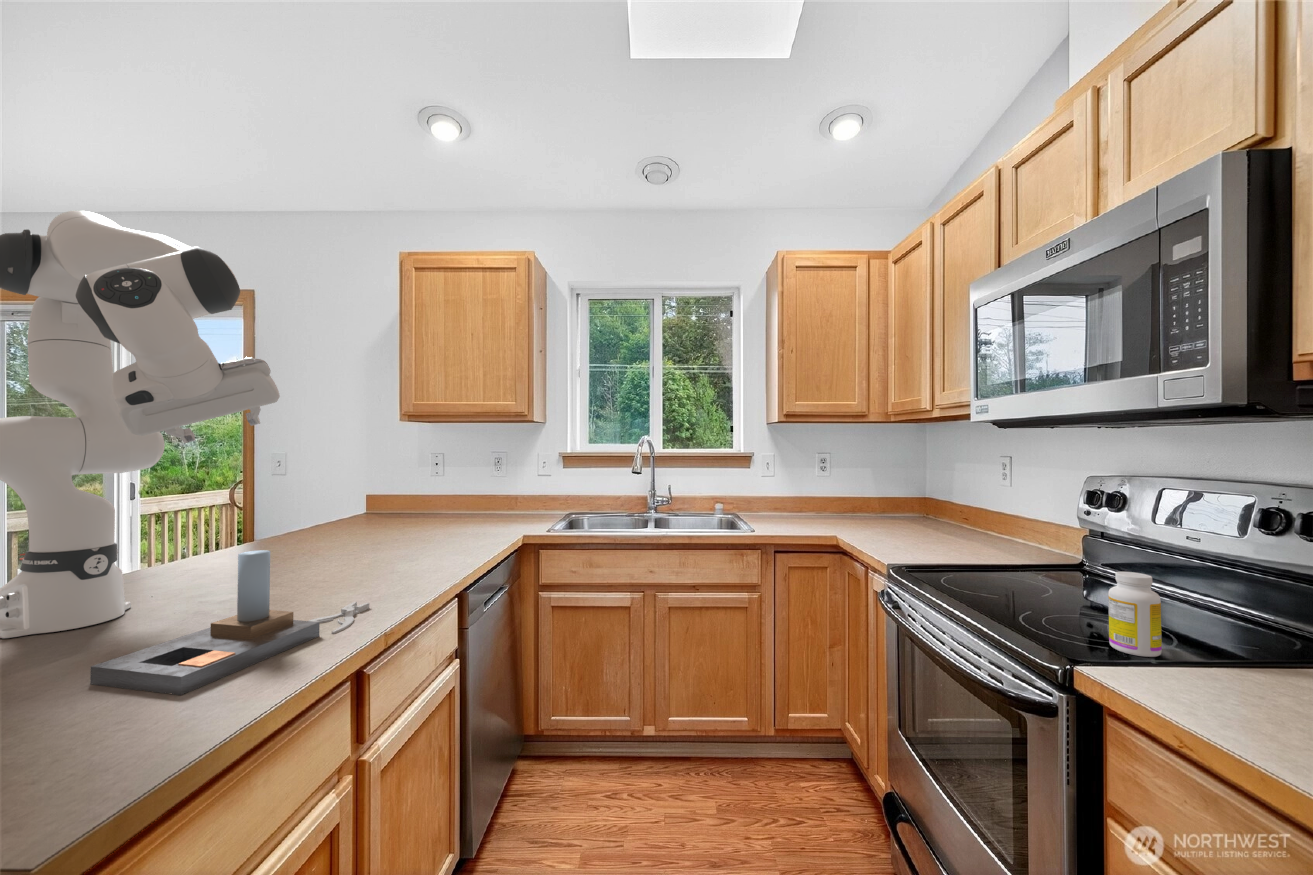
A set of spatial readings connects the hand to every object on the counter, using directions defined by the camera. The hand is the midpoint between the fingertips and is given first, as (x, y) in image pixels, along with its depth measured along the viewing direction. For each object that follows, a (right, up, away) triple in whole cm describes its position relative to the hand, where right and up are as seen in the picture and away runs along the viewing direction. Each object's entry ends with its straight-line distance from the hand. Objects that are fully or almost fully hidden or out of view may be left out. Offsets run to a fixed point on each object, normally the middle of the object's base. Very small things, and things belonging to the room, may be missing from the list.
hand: (223, 430), depth 93 cm
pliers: (+13, -37, +11) cm, 41 cm away
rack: (+5, -36, -8) cm, 37 cm away
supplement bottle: (+156, -37, -3) cm, 161 cm away
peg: (+7, -32, -2) cm, 33 cm away
